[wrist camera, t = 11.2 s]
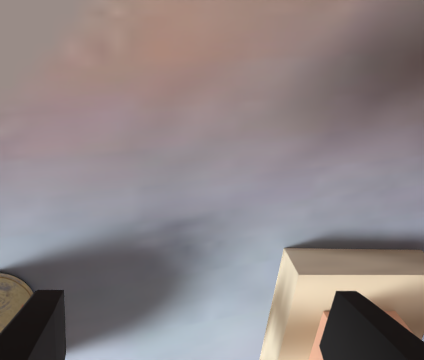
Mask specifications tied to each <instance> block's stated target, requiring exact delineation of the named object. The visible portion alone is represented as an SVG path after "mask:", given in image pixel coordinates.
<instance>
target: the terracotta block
mask: <svg viewBox="0 0 424 360" xmlns="http://www.w3.org/2000/svg"><path fill="white" fill-rule="evenodd" d="M329 312H330V311H323V314H322V317H321V320H320V323H319V327H318V330H317V333H316V337H315V340H314V343H313V347H312V350H311V353H310V356H309V360H323V357H322V354H321V350H320V347H319V345H320V341H321V338H322V335H323V332H324V328H325V325H326V322H327V319H328V316H329ZM384 312H386V313H387V314H388V315H390V316H391V317H392V318H393V319H395V320H396V321H397V322H399V323H400V324H401V325H402V326H404V327H405V328H406V329H408V330H409V331H410V332H411V333H413V332H412V331H411V330H410V329H409V327H408V326H407V325H406V324H405V322H404V321H403V320H402V319H401V317H400V316H399V315H398V314H397V312H396V311H384Z"/></svg>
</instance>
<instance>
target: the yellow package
mask: <svg viewBox="0 0 424 360" xmlns="http://www.w3.org/2000/svg"><path fill="white" fill-rule="evenodd" d="M32 294H33V292H32V290H31V289H30V287H29V286H28V285H27V284H26V283H25V282H23V281H22V280H21V279H19V278H17V277H15V276H12V275H9V274H3V273H0V333H1V331H2V330H3V329H4V328H5V327H6V326H7V324H8V323H9V322H10V321H11V320H12V319H13V317H14V316H15V315H16V314H17V313H18V311H19V310H20V309H21V308H22V307H23V305H24V304H25V303H26V302H27V300H28V299H29V298H30V297H31V295H32Z"/></svg>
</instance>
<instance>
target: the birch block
mask: <svg viewBox="0 0 424 360" xmlns="http://www.w3.org/2000/svg"><path fill="white" fill-rule="evenodd" d="M336 291H357V292H359V293H360V294H361V295H363V296H364V297H366V298H367V299H369V300H370V301H371V302H373V303H374V304H375V305H377V306H378V307H379V308H380V309H382V310H383V311H396V312H397V314H398V315H399V316H400V317H401V319H402V320H403V321H404V322H405V324H406V325H407V326H408V327H409V329H410V330H411V331H412V332H413V334H414V335H415V336H417V337H418V338H419V339H422V337H423V334H424V252H423V251H422V250H385V249H314V248H284V250H283V255H282V259H281V264H280V268H279V273H278V278H277V282H276V287H275V291H274V296H273V300H272V305H271V309H270V314H269V319H268V323H267V328H266V332H265V337H264V341H263V346H262V350H261V355H260V360H309V356H310V353H311V350H312V347H313V343H314V340H315V337H316V333H317V330H318V327H319V323H320V320H321V317H322V314H323V311H330V309H331V306H332V303H333V299H334V296H335V293H336Z"/></svg>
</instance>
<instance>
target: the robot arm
mask: <svg viewBox="0 0 424 360" xmlns="http://www.w3.org/2000/svg"><path fill="white" fill-rule="evenodd" d="M319 347H320V350H321V354H322V357H323V360H424V342H423V341H422V340H421V339H419V338H418V337H417V336H415V335H414V334H413V333H411V332H410V331H409V330H408V329H406V328H405V327H404V326H402V325H401V324H400V323H399V322H397V321H396V320H395V319H393V318H392V317H391V316H390V315H388V314H387V313H386V312H384V311H383V310H382V309H380V308H379V307H378V306H377V305H375V304H374V303H373V302H371V301H370V300H369V299H367V298H366V297H364V296H363V295H361V294H360V293H359V292H357V291H336V293H335V296H334V299H333V303H332V306H331V309H330V312H329V316H328V319H327V322H326V325H325V328H324V332H323V335H322V338H321V341H320V345H319ZM65 355H66V338H65V310H64V290H37V291H36V292H35V293H33V294H32V295H31V297H30V298H29V299H28V300H27V302H26V303H25V304H24V305H23V307H22V308H21V309H20V310H19V311H18V313H17V314H16V315H15V316H14V317H13V319H12V320H11V321H10V322H9V323H8V324H7V326H6V327H5V328H4V329H3V330H2V331H1V333H0V360H65Z"/></svg>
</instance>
